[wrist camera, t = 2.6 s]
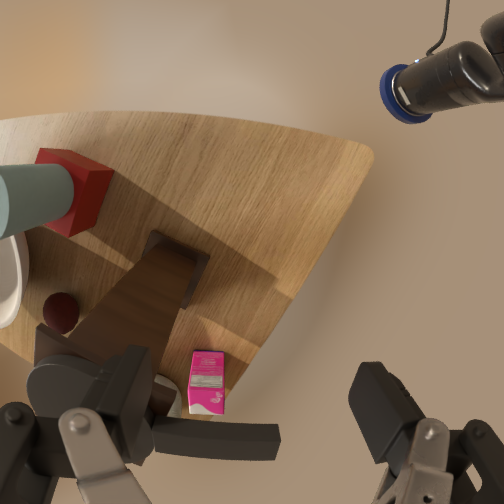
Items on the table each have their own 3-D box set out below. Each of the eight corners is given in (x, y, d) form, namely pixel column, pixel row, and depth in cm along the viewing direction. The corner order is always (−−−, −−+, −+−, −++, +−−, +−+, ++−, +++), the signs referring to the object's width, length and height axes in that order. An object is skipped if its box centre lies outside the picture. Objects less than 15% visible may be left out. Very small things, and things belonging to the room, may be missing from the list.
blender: (69, 149, 40) (-26, 145, 18) (114, 170, 42) (26, 174, 20) (51, 203, 43) (-42, 230, 20) (94, 226, 44) (7, 268, 22)
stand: (153, 229, 45) (35, 327, 14) (210, 255, 47) (175, 398, 16) (133, 282, 47) (34, 414, 16) (186, 307, 49) (141, 466, 18)
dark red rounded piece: (89, 299, 48) (72, 316, 41) (79, 329, 49) (64, 348, 42) (58, 279, 46) (39, 293, 39) (51, 310, 48) (33, 326, 41)
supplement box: (224, 374, 53) (224, 416, 42) (194, 373, 53) (187, 414, 42) (225, 350, 52) (224, 391, 41) (193, 348, 51) (185, 389, 40)
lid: (288, 382, 16) (295, 407, 14) (264, 469, 19) (267, 491, 16) (18, 339, 14) (2, 355, 12) (54, 434, 17) (45, 450, 15)
